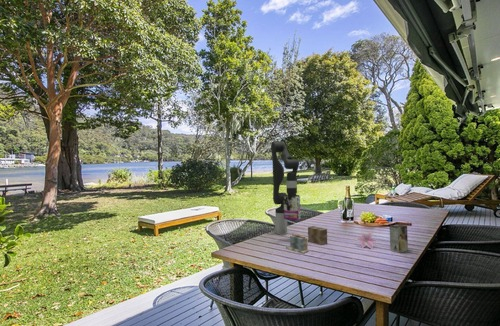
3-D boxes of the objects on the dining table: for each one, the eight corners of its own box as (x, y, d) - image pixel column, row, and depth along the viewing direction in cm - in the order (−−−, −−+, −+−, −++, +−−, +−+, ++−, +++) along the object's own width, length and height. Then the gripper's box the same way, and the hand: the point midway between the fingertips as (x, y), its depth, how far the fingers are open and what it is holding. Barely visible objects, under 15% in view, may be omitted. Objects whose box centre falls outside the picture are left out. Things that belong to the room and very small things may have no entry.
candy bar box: (300, 219, 204) (300, 196, 204) (298, 220, 200) (298, 197, 200) (286, 217, 210) (285, 195, 209) (283, 219, 205) (283, 196, 205)
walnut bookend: (308, 241, 202) (307, 227, 202) (313, 239, 205) (313, 226, 205) (321, 245, 192) (321, 230, 192) (327, 243, 196) (327, 229, 196)
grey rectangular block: (286, 248, 190) (285, 234, 190) (312, 241, 207) (312, 228, 207) (303, 253, 178) (302, 238, 178) (329, 245, 195) (329, 231, 195)
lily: (353, 247, 194) (354, 236, 189) (362, 237, 200) (363, 227, 196) (370, 256, 186) (371, 245, 181) (378, 246, 192) (380, 235, 187)
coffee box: (398, 248, 186) (398, 223, 186) (408, 250, 181) (407, 225, 181) (389, 250, 182) (389, 225, 182) (398, 253, 176) (398, 227, 176)
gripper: (294, 185, 212) (295, 208, 212) (280, 187, 203) (281, 210, 203) (302, 186, 206) (302, 209, 206) (288, 188, 197) (288, 211, 197)
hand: (291, 209), depth 205 cm, fingers closed on candy bar box, 6 cm apart
